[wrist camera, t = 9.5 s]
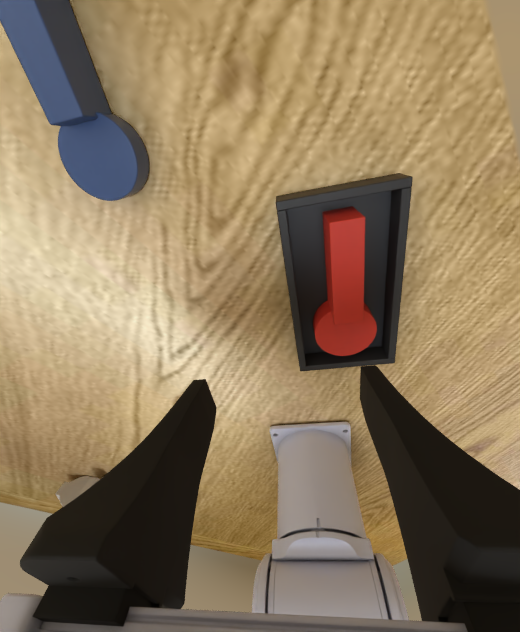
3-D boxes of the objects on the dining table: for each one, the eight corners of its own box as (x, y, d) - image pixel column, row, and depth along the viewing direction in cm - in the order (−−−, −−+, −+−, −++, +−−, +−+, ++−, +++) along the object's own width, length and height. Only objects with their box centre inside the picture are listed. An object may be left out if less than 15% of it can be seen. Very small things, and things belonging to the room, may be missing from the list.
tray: (386, 347, 22) (394, 363, 20) (299, 355, 23) (300, 371, 21) (399, 172, 15) (413, 176, 14) (276, 196, 16) (275, 201, 15)
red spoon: (302, 214, 16) (305, 226, 14) (374, 202, 16) (390, 212, 13) (314, 345, 22) (319, 369, 19) (369, 339, 21) (381, 364, 19)
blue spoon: (-12, -38, 12) (-84, -83, 10) (70, -71, 11) (15, -127, 9) (99, 201, 17) (70, 211, 15) (160, 189, 17) (140, 197, 14)
